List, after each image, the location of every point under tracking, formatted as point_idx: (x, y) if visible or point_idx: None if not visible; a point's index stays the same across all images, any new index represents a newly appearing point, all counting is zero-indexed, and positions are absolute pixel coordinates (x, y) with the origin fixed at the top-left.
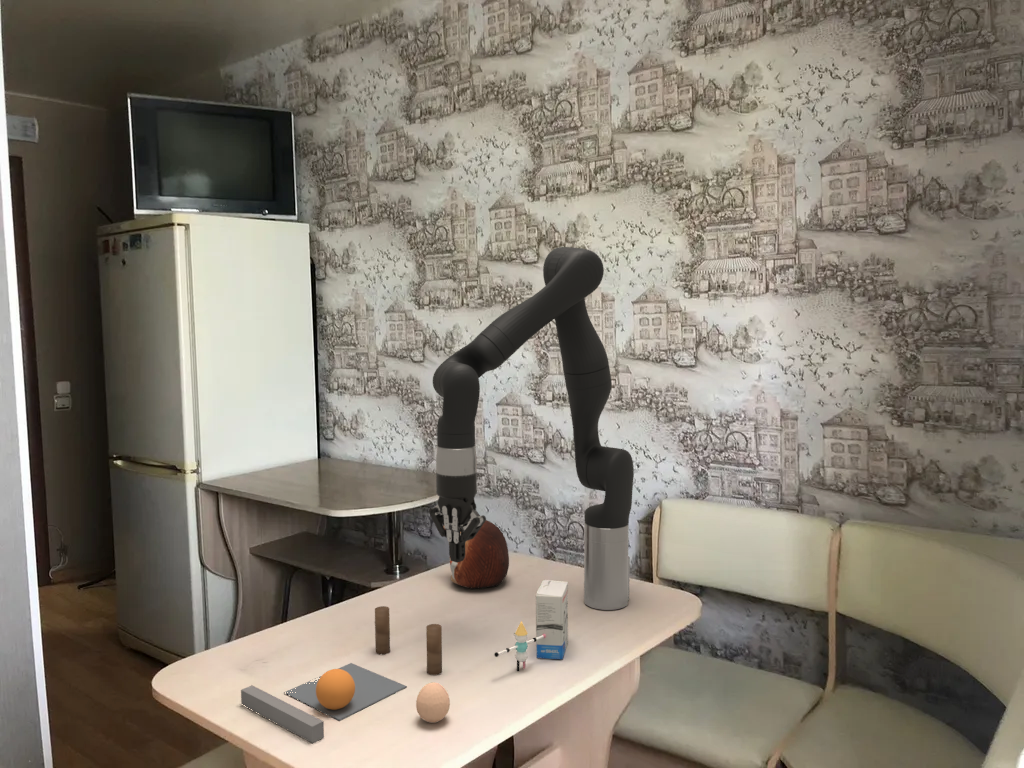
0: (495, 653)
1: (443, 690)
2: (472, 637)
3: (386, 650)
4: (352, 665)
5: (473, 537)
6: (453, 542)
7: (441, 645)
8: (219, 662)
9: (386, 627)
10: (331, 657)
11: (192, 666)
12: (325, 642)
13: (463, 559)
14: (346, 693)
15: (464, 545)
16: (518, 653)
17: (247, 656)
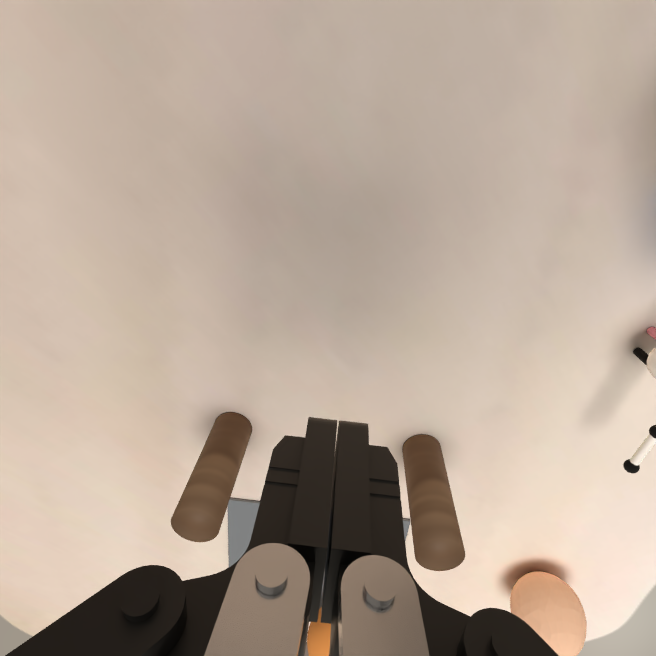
0: (631, 472)
1: (583, 640)
2: (388, 227)
3: (249, 437)
4: (240, 506)
5: (540, 649)
6: (311, 613)
7: (452, 500)
8: (29, 580)
9: (233, 485)
10: (165, 493)
11: (15, 602)
12: (80, 450)
13: (366, 424)
14: None
15: (402, 550)
16: None
17: (37, 551)
